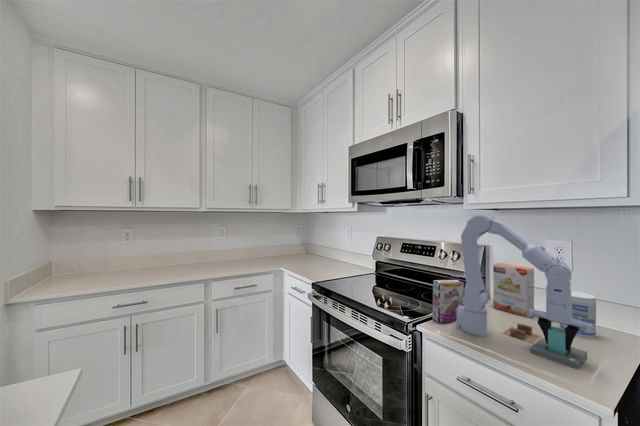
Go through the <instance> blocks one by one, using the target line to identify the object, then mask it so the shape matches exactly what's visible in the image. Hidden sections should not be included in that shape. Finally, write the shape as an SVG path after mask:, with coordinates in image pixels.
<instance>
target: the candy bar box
mask: <svg viewBox="0 0 640 426" xmlns="http://www.w3.org/2000/svg"><path fill="white" fill-rule="evenodd" d="M464 289H465V282H463V281H461V280H459V279H438V280H437V279H436V280H435V279H434V280H432V320H433V321H435V322H436V323H437V324H449V323H455V322H457V310H458V308H459V307H460V306H464V305H463V297H464Z"/></svg>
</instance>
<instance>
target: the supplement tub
mask: <svg viewBox="0 0 640 426" xmlns="http://www.w3.org/2000/svg"><path fill="white" fill-rule="evenodd" d="M571 318H574V319H577V320H580V321H583V322H587V323H590V324H592V331H591V332H588V331H586V330H583V329H580V330H579V331H578V332H577V334H576V336H577V337H582V338H595V337H596V334H597V333H596V332H597V328H596V327H597V297H596V296H595V295H593V294H590V293H587V292H586V293H585V292H581V291H577V290H576V291H575V290H571ZM566 327H567V325H564V324H560V323H559V328H561V329H565V328H566ZM576 336H575V337H576Z"/></svg>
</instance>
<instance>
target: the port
mask: <svg viewBox="0 0 640 426" xmlns="http://www.w3.org/2000/svg"><path fill="white" fill-rule="evenodd" d="M529 353H530V354H533V355H536V356H539V357H541V358H545V359H547V360H551V361H552V362H555V363H559V364H562V365H565V366H567V367H570V368H573V369H576V370H579V369H580V368H581V366H582V365H583V364H584V362H585V361H586V359H587V357H588V351H587V350H583V349H579V348H575V347H573V346H571V349H570V350H569V354H568V355H567V356H565V355H562V354H559V353H556V352H553V351H550V350H548V344H546V340H545V337H544V338H543V337H540V338H538V339H537V340H536V341H535V342H534V343H533V344H532V345H531V346H530V347H529Z"/></svg>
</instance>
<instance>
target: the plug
mask: <svg viewBox="0 0 640 426" xmlns="http://www.w3.org/2000/svg"><path fill="white" fill-rule="evenodd" d="M548 350H550V351H553V352H556V353H559V354H562V355H565V356H568V354H569V351H567V350H566V332H565V329H561V328H560V327H557V326H552V325H551V327H550V328H549V329H548Z"/></svg>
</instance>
